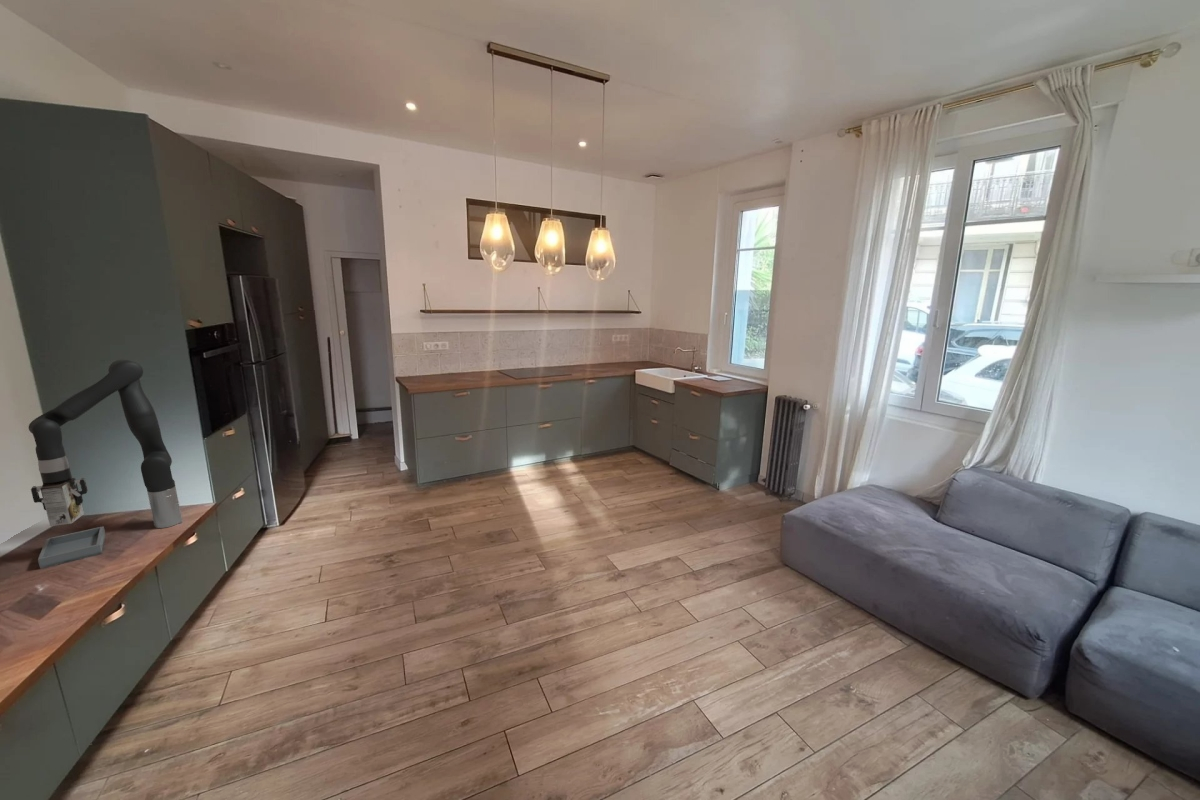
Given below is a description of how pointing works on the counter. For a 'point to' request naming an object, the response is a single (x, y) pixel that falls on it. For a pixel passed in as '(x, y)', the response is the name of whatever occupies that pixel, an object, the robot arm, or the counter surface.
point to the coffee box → (61, 503)
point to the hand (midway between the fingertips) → (64, 507)
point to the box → (72, 547)
